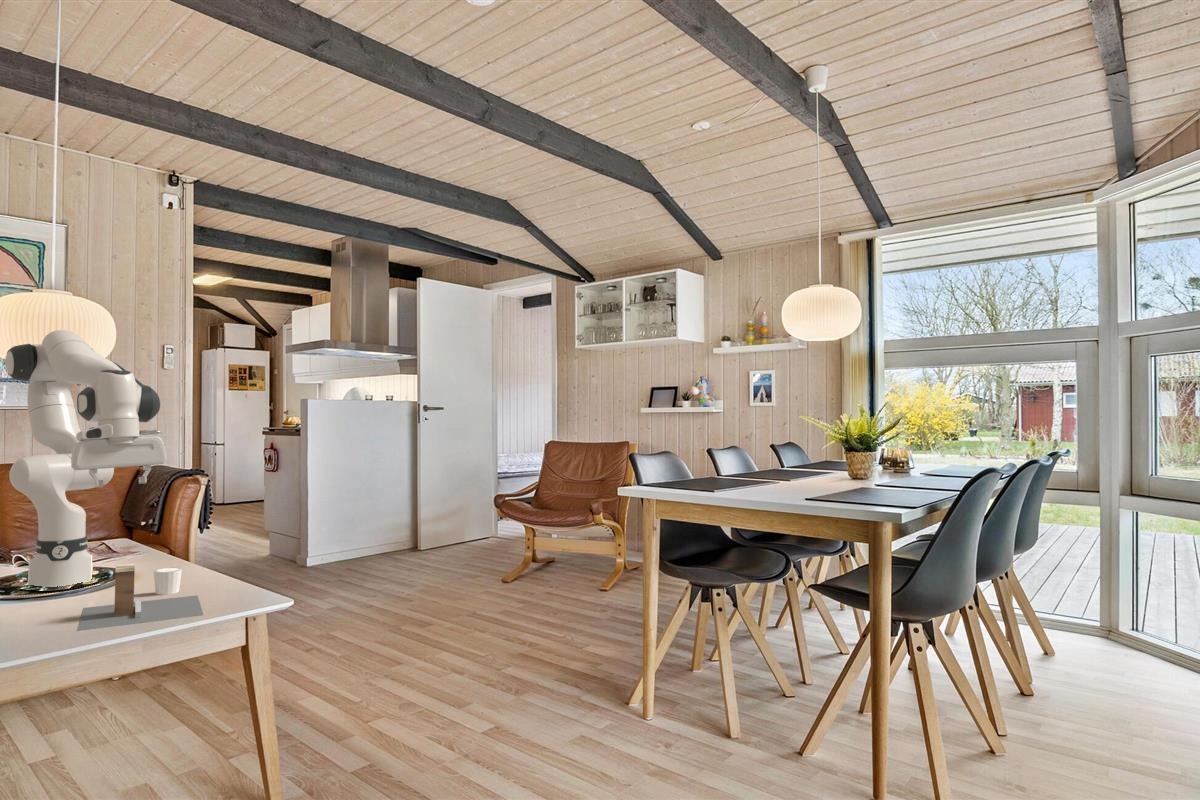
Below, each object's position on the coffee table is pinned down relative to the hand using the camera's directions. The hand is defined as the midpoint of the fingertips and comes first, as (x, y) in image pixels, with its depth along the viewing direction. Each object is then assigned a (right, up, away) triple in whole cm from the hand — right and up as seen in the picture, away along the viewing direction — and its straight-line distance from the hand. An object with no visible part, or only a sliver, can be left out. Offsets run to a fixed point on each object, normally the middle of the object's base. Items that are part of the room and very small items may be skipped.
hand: (121, 485), depth 182 cm
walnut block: (+1, -33, -1) cm, 33 cm away
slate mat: (+5, -33, +1) cm, 34 cm away
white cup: (-1, -34, +20) cm, 39 cm away
